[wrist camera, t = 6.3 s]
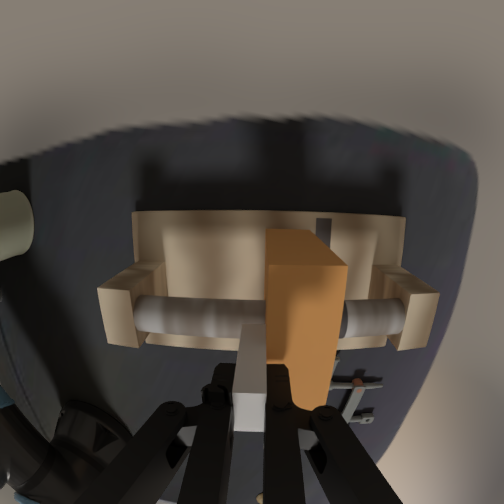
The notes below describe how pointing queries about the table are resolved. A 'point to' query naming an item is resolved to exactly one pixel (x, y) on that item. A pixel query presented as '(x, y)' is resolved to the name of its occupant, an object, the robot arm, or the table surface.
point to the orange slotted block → (303, 310)
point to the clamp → (354, 397)
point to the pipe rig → (257, 279)
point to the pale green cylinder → (15, 224)
